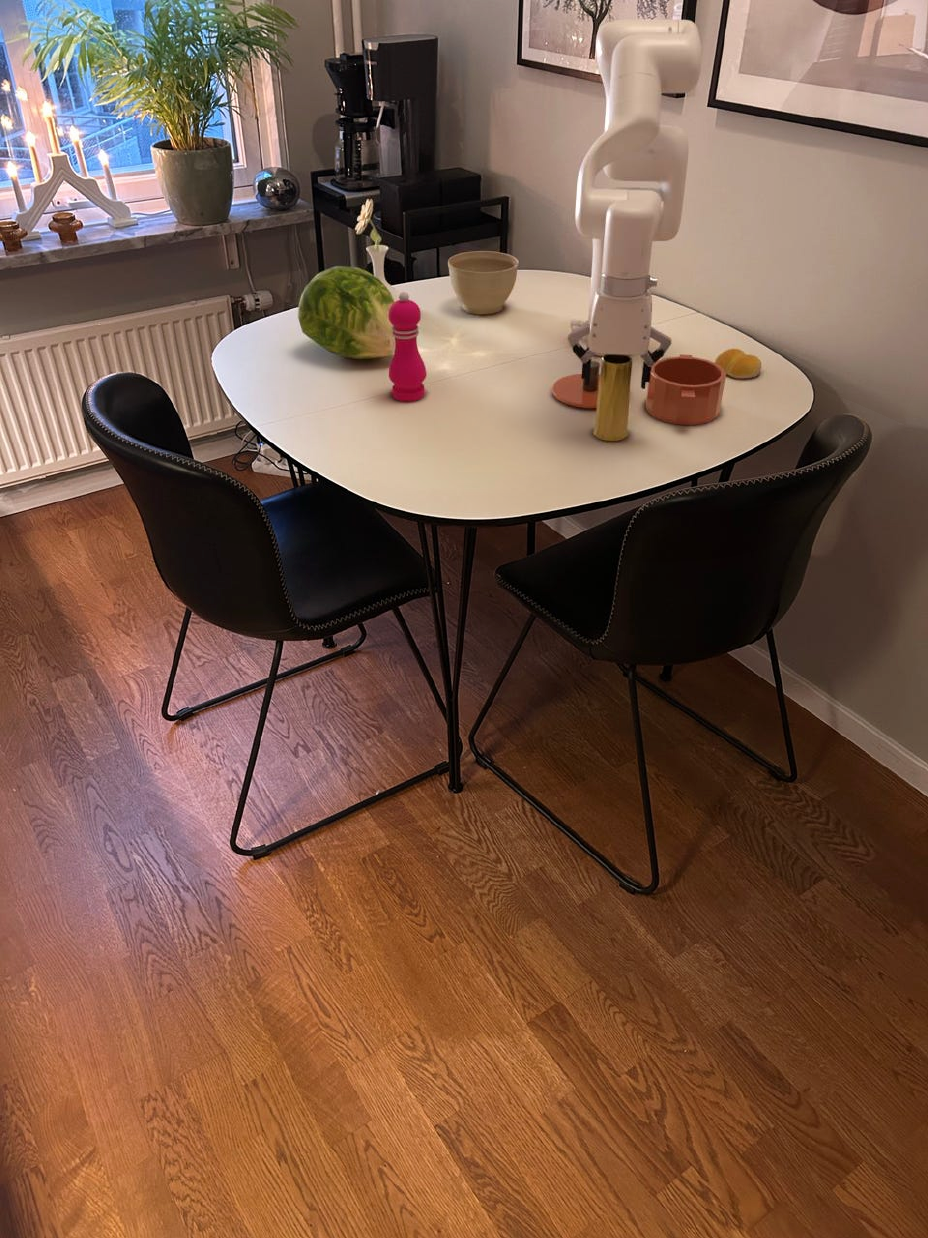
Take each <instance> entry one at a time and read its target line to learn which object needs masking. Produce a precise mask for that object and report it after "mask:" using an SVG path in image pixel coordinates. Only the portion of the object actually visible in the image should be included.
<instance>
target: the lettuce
mask: <svg viewBox="0 0 928 1238" xmlns="http://www.w3.org/2000/svg"><path fill="white" fill-rule="evenodd" d="M393 303H394V299H393V297H392V295H391V293H390V292H389V290H388V289H387V288H386V286H385V285H384V284H383V283H382V282H381V281H380V280H379V279H378V278H376V277H375V276H374V273H372V272H371V273H370V272H369V271H368V270H365V269H362V268H360V267H357V266H347V265H346V266H345V265H335V266H333V267H330V268H327V269H325V270H323V271H320V272H319V273H317V274H316V275H315V276H314V277H313V278H312V279H311V280H310V282H309V283H308V284H307V285H305V287H304V289H303V291H302V293H301V295H300V298H299V302H298V308H297V319H298V322H299V326H300V329H301V332H302V333H303V334H304V335H305V336H306V337H307V338H309V339H310V340H312V341H313V342H315V343H316V344H317V345H319V346H320V347H321V348H323V349H324V350H325V351H328V352H330V353H331V354H334V355H338V356H341V357H344V358H348V359H351V360H367V359H368V360H369V359H370V360H371V359H375V358H382V357H388V356H391V355H392V354H393V355H394V352H395V337H394V336H393V335H392V332H393V331H392V327H393V325H392V324H391V322H390V321H389V317H388V313H389V308H390V306H391V305H392V304H393Z"/></svg>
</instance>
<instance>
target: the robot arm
mask: <svg viewBox="0 0 928 1238" xmlns="http://www.w3.org/2000/svg"><path fill="white" fill-rule="evenodd" d="M702 53H703V51H702V43H701V38H700V34H699V29H698V27H697V25H696V23H695V22H693V21H692V20H689V19H648V18H639V19H638V18H635V19H634V18H633V19H632V18H631V19H619V20H617V19H616V20H612V21H608V22H606V23H604V24H602V25H601V27H600V28H598V30H597V34H596V37H595V56H596V61H597V66H598V70H599V73H600V77H601V79H602V83H603V87H604V93H605V103H606V106H605V120H604V131H603V133H602V134H601V135H600V136H598V138H597V139H595V141H594V142H593V144H592V145H591V146H590V148H589V149H588V150H587V152H586V154H585V155H584V158H583V160H582V162H581V165H580V167H579V170H578V174H577V175H578V176H577V184H576V195H575V196H576V197H575V213H574V215H575V216H574V219H575V226H576V229H577V232H578V233H579V235H580V236H582V237H583V238H586V239H591V240H592V259H591V261H592V262H591V264H592V265H591V278H590V290H589V305H588V316H587V317H588V318H587V320H585V321H582V320H579V319H571V321H570V329H571V330H570V331H571V332H569V333H567V341H568V342H569V346H570V347H571V349H572V352H573V353H574V355H575V356H576V357H577V358H578V359H579V360H580V362H581V374H582V376H581V379H585V386H588V385H589V381H590V370H591V361H592V358H593V357H594V356H599V357H602V356H603V355H605V354H614V355H630V356H640V358H641V359H642V360H643V361H642V368H641V369H642V370H641V379H640V389H642V390H645V389H646V386H647V385H646V384H648V383H650V376H651V368H652V366H653V365H654V363H655V362H657V361H658V360H661V359H663V357H664V355H665V353H666V352H667V351H668V349H669V348H670V347H671V345H672V338H671V337H670V336H668V335H666V334H664V333H663V332H661V331H659V330H658V329H656V328H654V327H652V318H653V317H652V316H653V297H652V292H651V290H650V288H653V287H654V288H656V287H657V286H658V284H657V283H658V278H657V277H653V276H651V274H650V267H651V259H652V258H651V257H652V247H653V242H667V241H670V240H673V239H674V238H675V237H676V236H677V234H678V233H679V231H680V226H681V223H682V215H683V206H684V197H685V187H686V181H687V180H686V179H687V173H688V172H687V171H688V163H689V162H688V161H689V139H688V135H687V133H686V131H685V130H684V129H683V128H681V127H680V126H676V125H661V111H662V110H661V109H662V94H688V93H690V92H692V91H694V90H695V88H696V86H697V85H698V82H699V79H700V75H701V71H702V62H703V58H702V57H703V56H702V55H703V54H702ZM602 170H603V172H604V174H605V176H606V177H607V178H609V179H610V180H614V181H621V182H656V183H659V184H660V187H661V188H660V187H659V188H658V187H622V186H621V187H619V186H617V187H610V188H595V187H594V185H595V179H596V177H597V175H598V174H599V173H600V172H601V171H602ZM651 339H653V340H654V341H656V342H658V343H659V344H660V345H659V346H658V347H657V348H656V349H655V350H654V351H653V352H651V350H650V349H649V347H650V342H651Z"/></svg>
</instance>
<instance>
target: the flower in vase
mask: <svg viewBox="0 0 928 1238" xmlns="http://www.w3.org/2000/svg"><path fill="white" fill-rule="evenodd" d="M373 211H374V201H373V199H372V198H371V199H369V198H367V199H366V202H365V204H362V206H361V210H360V215H358V216H357V218H356V221H357V222H358V223H357V224H356V225H355V228H354V231H356V233H355V234H356V235H360V234H362V233H363V232H364V231H365V230H366V228H367V226H368V224H369V223H370V224H371V226H372V228H373V229H372V230H371V232H370V234H369V237H370V239H371V240H372V241H373V242H374V243H375V244H374V245H373V244H372V245H369V246H367V247H366V248H365V249H366V251H367V252H368V254H369V256H370V258H371V262H372V266H373V275H374V276H375V277H376V278H378V279H379V280H380V281H381V282H382V283H383V284H384V285H385V286H386V288H387V289H388V290H389V292H390V293H391V295H392V297H393V299H394V302H396V301H398V300H400V299H399V294H400V293H401V291H400V290H398V289H396V287H394V286H393V285H391V284H390V283H388V282H387V280H386V278H385V272H384V271H385V269H384V265H385V257H386V254H387V253H388V250H389V247H388V246H387V245H384V244H380V242H381V241H382V237H381V236H380V234H379V232H378V230H377V229H376V226H375V225H374V223H373V221H372V220H371V217H372V215H373Z"/></svg>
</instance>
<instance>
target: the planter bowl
mask: <svg viewBox="0 0 928 1238" xmlns="http://www.w3.org/2000/svg"><path fill="white" fill-rule="evenodd" d="M519 263H520V262H519V259H518V258H516V257H515V256H513V255H511V254H508V253H504V252H499V251H489V250H480V251H476V250H475V251H466V252H460V253H458V254H455V255H453V256H451V257H449V259H448V260H447V266H448V273H449V279H450V283H451V287H452V289H453V292H454V294H455V296H456V297H457V299H458V301H459V302H460V303H461V306H462V310H464V311H465V312H468V313H471V314H475V315H490V314H491V315H492V314H495V313H498V312H500V311H501V310H503V308H504V305H505V303H506V301H507V300H508V299H509V297H510V296H511V294H512V292H513V290H514V287H515V285H516V281H517V276H518V268H519Z"/></svg>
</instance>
